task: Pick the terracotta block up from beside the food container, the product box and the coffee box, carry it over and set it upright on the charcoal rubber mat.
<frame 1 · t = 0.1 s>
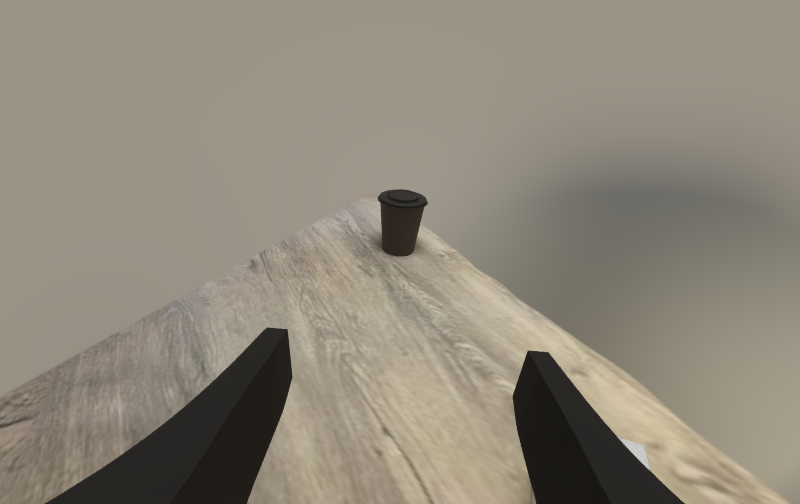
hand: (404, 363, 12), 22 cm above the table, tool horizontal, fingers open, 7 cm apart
coffee cup: (398, 249, 67), on the table
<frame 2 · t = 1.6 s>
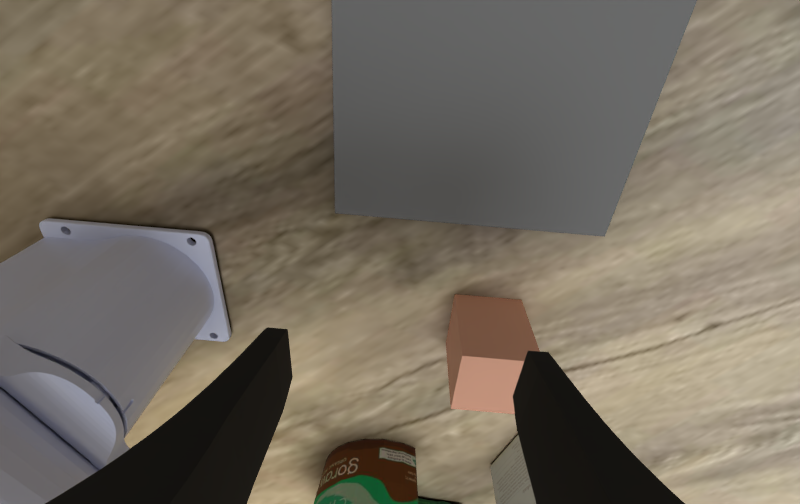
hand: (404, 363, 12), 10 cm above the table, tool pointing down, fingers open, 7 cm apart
product box: (539, 451, 31), on the table
food container: (352, 457, 33), on the table
coffee box: (417, 501, 36), on the table
mat: (489, 100, 18), on the table
block: (482, 322, 24), on the table
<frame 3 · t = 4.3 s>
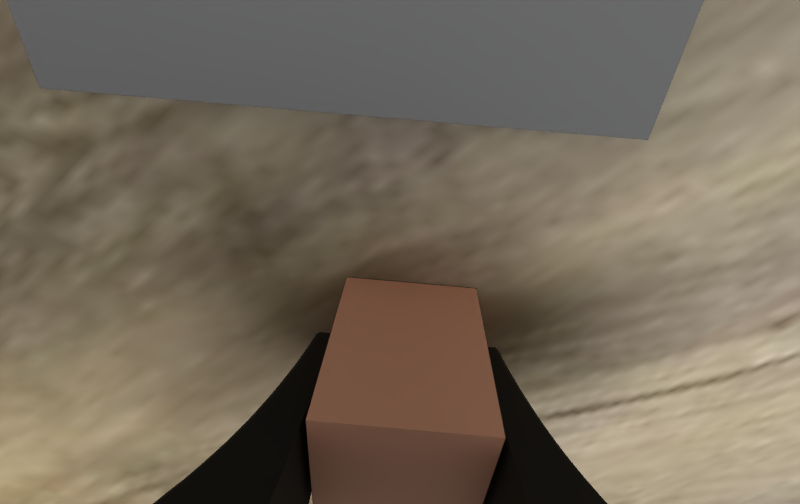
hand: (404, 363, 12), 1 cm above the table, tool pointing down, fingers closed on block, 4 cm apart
block: (406, 331, 13), on the table, touching gripper
when the fingers open (3 cm above the table, at t = 9.2 s): block stays where it is, resting on mat.
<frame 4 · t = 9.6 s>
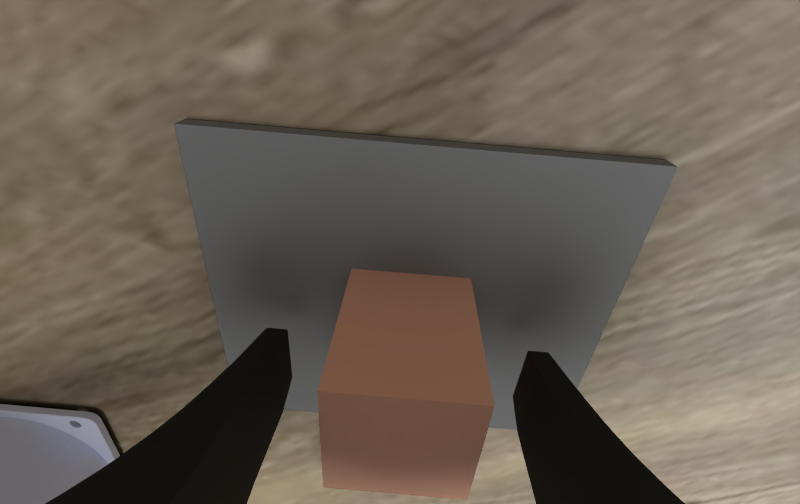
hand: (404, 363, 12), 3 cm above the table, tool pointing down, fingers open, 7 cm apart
mat: (407, 302, 14), on the table
block: (406, 319, 14), point 1 cm above the table, touching mat
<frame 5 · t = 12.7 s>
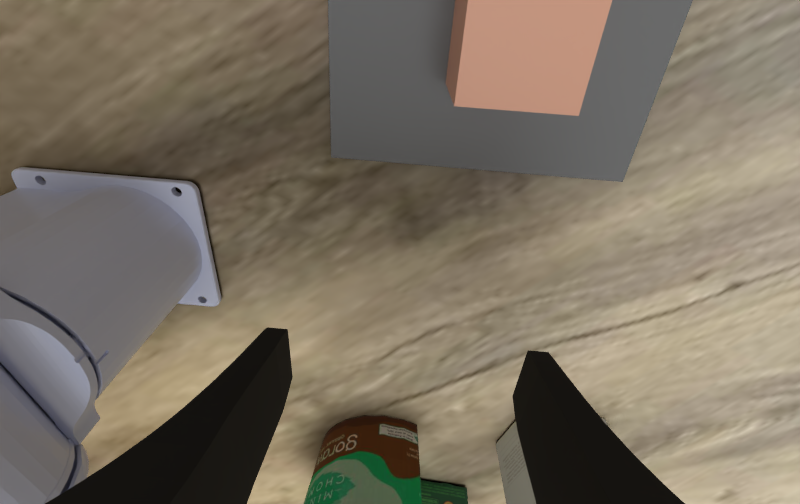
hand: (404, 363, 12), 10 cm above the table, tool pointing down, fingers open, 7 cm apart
product box: (547, 428, 30), on the table
food container: (351, 436, 31), on the table
coffee box: (418, 483, 34), on the table
mat: (500, 24, 16), on the table
block: (501, 34, 16), point 1 cm above the table, touching mat
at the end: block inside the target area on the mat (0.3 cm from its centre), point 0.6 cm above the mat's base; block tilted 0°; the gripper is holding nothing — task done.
